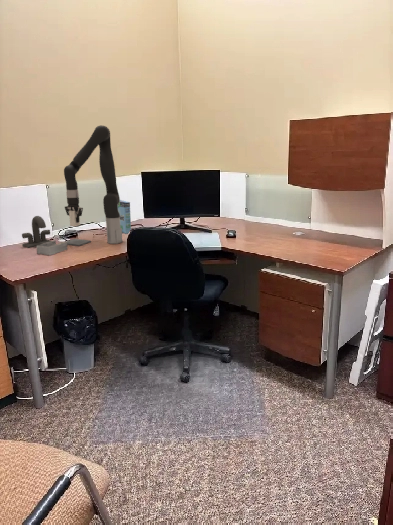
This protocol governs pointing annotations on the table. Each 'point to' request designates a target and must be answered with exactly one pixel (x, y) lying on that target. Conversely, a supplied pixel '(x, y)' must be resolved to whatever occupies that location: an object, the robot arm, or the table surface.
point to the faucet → (36, 233)
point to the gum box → (124, 216)
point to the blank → (73, 219)
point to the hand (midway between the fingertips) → (74, 222)
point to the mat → (77, 242)
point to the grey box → (51, 248)
